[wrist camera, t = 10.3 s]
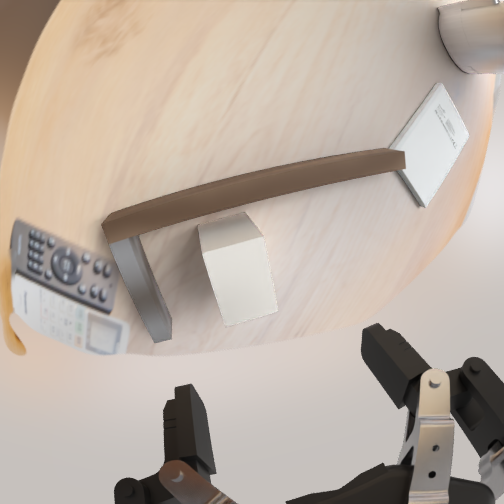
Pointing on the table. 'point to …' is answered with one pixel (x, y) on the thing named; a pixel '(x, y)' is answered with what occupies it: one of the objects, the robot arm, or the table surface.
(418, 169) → the external hard drive
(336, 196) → the table surface
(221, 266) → the block
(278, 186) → the guide fence
